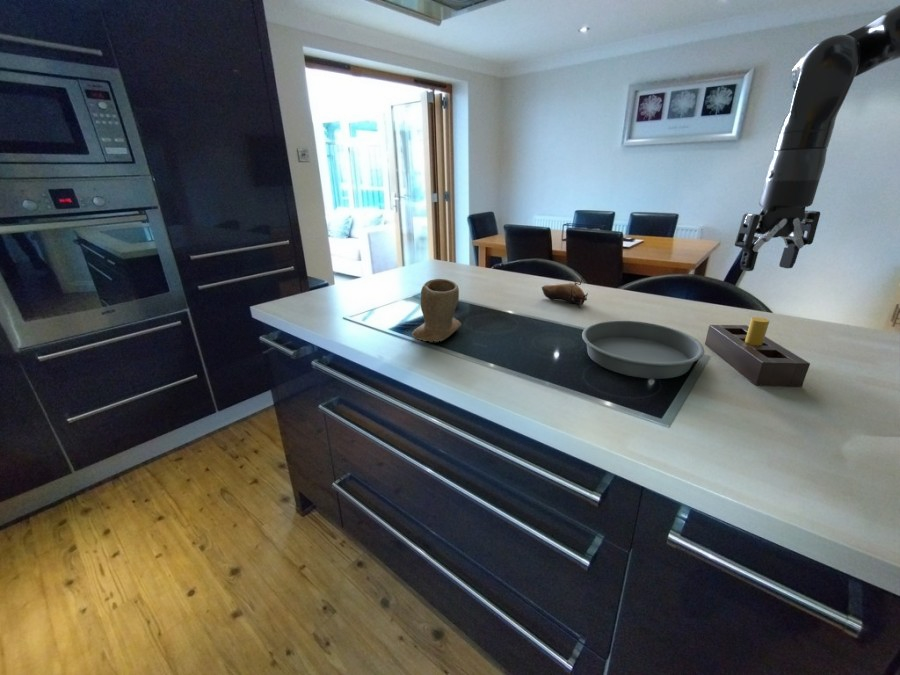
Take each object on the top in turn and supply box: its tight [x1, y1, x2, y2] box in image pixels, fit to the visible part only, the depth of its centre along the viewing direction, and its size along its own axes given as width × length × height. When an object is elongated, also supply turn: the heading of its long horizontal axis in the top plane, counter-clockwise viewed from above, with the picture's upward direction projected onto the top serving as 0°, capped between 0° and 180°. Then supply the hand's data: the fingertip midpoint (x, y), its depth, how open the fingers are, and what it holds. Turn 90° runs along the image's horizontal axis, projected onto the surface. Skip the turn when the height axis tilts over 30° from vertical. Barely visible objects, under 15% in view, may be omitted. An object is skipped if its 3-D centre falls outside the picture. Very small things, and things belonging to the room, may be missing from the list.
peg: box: [745, 316, 770, 346], centre depth 82 cm, size 3×3×10 cm
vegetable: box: [541, 276, 589, 308], centre depth 126 cm, size 16×11×10 cm
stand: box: [704, 324, 811, 388], centre depth 83 cm, size 8×20×5 cm, turn 174°
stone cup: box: [411, 278, 462, 343], centre depth 101 cm, size 15×12×15 cm
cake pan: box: [581, 320, 705, 380], centre depth 87 cm, size 25×25×4 cm
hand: (766, 268), depth 75 cm, fingers open, 8 cm apart
